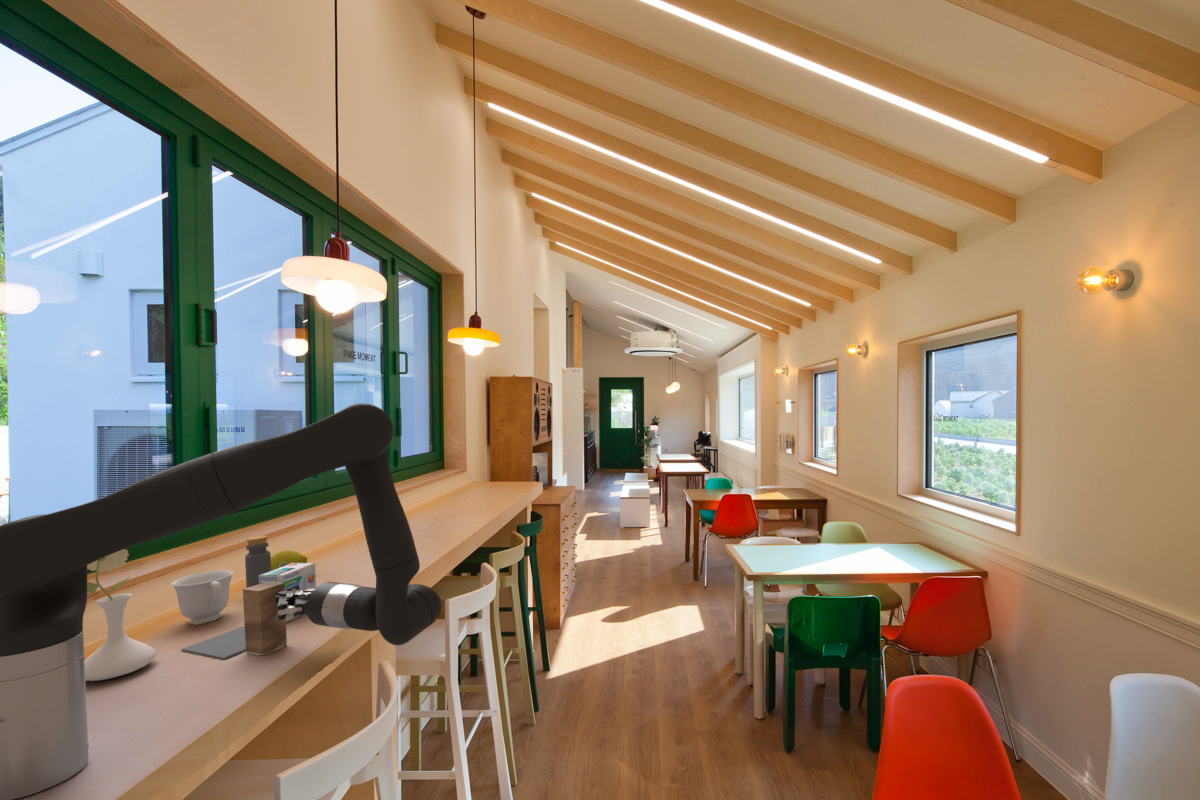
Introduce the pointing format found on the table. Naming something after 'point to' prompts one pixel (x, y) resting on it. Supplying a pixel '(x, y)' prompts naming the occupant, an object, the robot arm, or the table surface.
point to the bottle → (256, 559)
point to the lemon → (286, 559)
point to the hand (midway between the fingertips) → (279, 597)
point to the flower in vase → (115, 630)
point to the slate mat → (221, 645)
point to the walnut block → (263, 619)
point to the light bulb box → (292, 578)
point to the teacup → (203, 595)
